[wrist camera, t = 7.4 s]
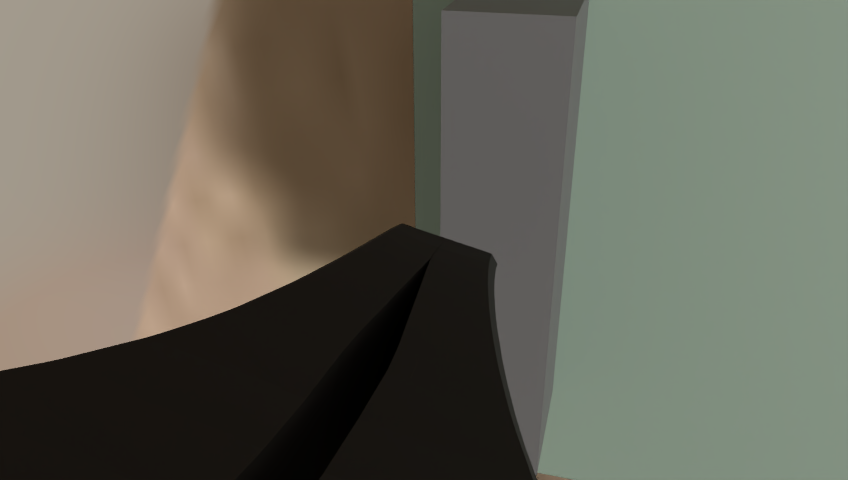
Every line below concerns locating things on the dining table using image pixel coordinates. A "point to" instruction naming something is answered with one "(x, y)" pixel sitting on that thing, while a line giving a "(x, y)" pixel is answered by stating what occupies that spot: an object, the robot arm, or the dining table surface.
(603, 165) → the lid
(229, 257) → the dining table surface
